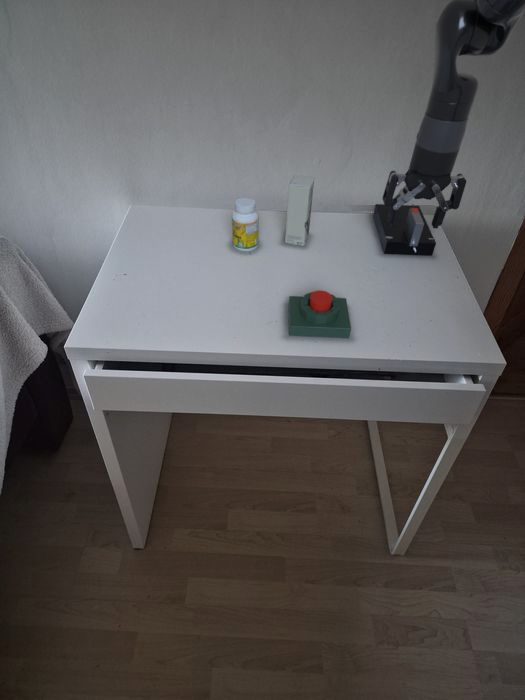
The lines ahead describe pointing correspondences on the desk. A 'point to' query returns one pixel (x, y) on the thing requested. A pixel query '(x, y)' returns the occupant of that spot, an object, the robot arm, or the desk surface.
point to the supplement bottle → (245, 225)
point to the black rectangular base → (401, 233)
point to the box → (299, 210)
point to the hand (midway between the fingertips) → (413, 225)
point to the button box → (318, 318)
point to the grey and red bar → (413, 227)
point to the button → (320, 301)
